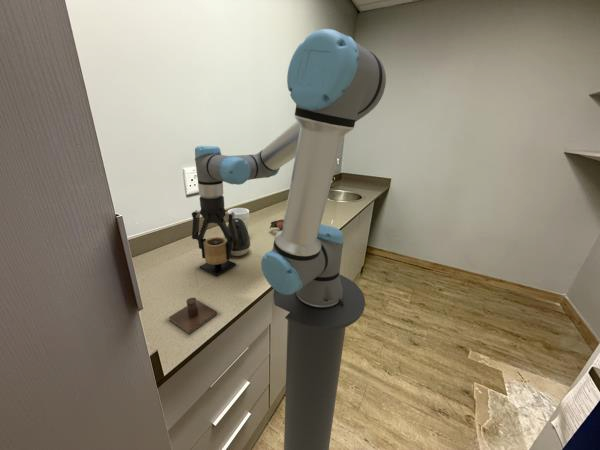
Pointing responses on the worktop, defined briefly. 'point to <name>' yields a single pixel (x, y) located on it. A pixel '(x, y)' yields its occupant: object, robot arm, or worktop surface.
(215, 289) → the worktop surface
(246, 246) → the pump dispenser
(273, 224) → the pottery mug
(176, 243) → the worktop surface
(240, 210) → the foam cup
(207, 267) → the square base peg
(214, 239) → the maple ring
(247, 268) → the worktop surface
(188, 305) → the low peg stand
